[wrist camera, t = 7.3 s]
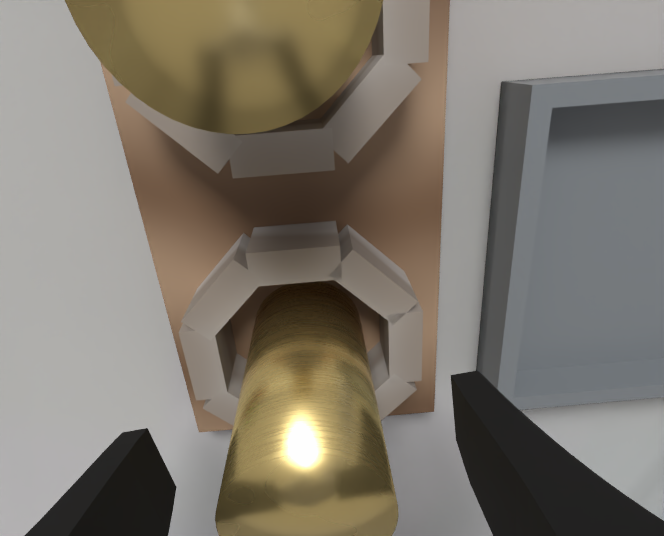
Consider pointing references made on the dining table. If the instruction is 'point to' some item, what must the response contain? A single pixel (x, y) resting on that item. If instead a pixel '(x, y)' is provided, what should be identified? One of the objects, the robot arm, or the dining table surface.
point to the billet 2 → (307, 426)
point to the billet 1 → (229, 55)
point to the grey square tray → (576, 242)
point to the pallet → (305, 215)
